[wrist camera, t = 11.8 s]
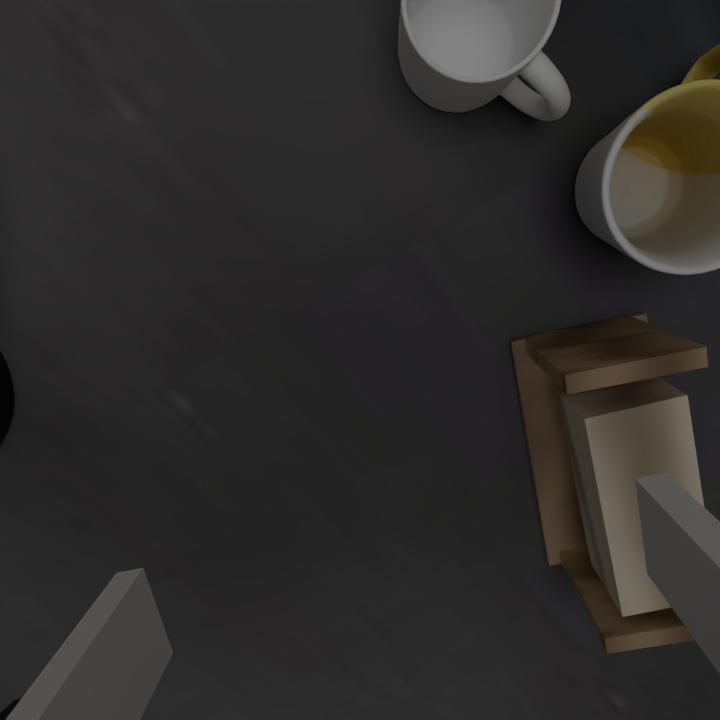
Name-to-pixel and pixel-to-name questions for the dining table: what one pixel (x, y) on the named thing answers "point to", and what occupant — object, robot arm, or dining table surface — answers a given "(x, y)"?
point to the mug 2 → (661, 178)
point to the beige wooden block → (626, 475)
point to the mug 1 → (481, 54)
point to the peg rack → (551, 456)
